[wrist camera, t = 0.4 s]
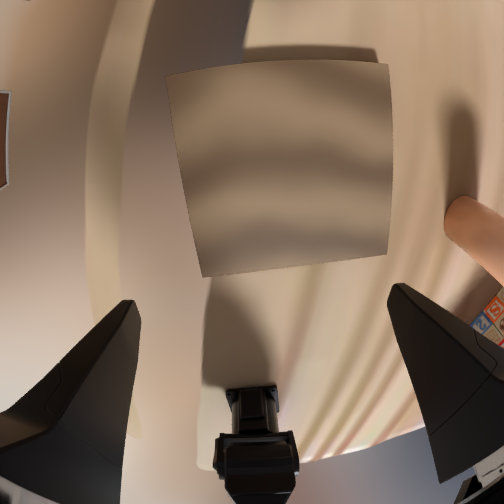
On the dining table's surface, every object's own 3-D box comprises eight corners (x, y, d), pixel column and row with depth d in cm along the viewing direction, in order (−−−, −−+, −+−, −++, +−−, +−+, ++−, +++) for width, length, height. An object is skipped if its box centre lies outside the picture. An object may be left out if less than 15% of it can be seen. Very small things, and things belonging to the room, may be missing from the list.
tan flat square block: (380, 246, 25) (386, 254, 24) (204, 268, 25) (202, 277, 24) (379, 65, 18) (388, 64, 16) (170, 78, 18) (165, 76, 16)
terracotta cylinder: (472, 238, 25) (529, 287, 16) (440, 242, 25) (499, 298, 16) (479, 195, 23) (545, 236, 14) (447, 196, 23) (517, 242, 14)
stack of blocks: (519, 262, 27) (570, 311, 17) (525, 280, 29) (570, 326, 18) (424, 367, 35) (456, 430, 24) (439, 375, 37) (468, 431, 26)
